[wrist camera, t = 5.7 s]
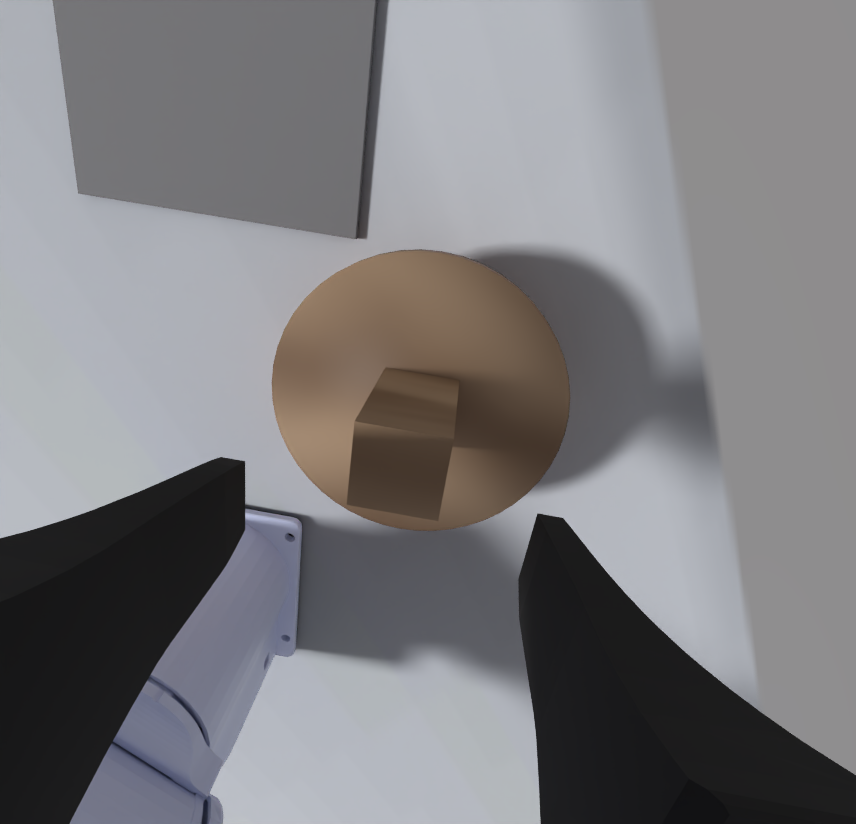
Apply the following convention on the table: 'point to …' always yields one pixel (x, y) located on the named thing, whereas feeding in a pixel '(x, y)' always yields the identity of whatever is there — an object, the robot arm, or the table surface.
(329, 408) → the lid
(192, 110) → the mat
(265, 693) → the table surface
